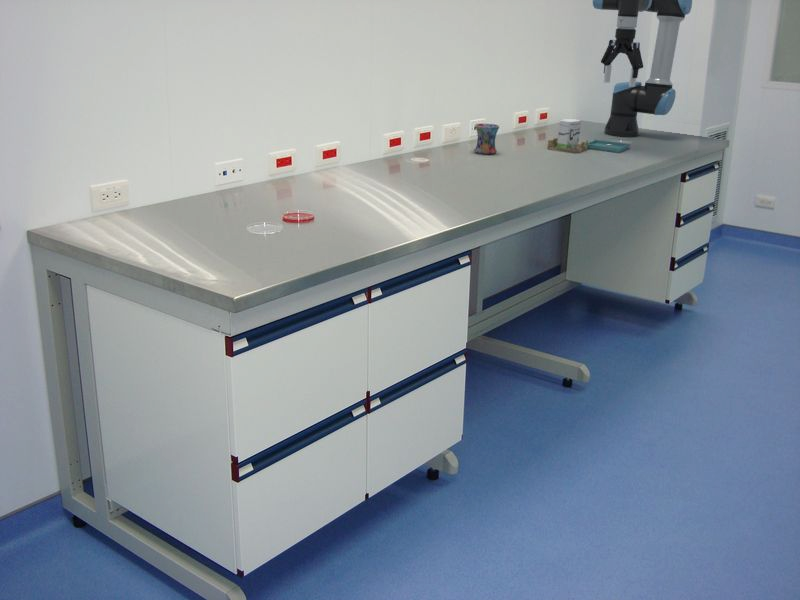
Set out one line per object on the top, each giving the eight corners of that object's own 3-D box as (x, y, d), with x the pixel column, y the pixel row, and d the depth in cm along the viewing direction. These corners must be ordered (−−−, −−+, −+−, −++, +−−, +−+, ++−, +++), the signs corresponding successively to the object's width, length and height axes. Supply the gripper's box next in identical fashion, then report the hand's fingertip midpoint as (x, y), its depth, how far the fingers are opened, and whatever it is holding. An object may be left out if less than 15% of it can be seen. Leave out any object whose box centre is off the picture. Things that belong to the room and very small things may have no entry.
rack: (557, 145, 350) (558, 136, 349) (587, 149, 344) (588, 140, 343) (547, 149, 340) (547, 140, 338) (577, 153, 334) (578, 144, 333)
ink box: (566, 151, 337) (569, 121, 333) (556, 149, 341) (559, 119, 336) (578, 149, 343) (581, 120, 339) (568, 147, 346) (571, 118, 342)
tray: (594, 143, 357) (594, 139, 356) (629, 148, 350) (629, 144, 349) (583, 148, 346) (584, 143, 345) (619, 153, 339) (620, 148, 338)
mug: (490, 156, 320) (492, 128, 317) (468, 152, 325) (470, 125, 321) (504, 152, 330) (507, 124, 326) (484, 148, 335) (486, 121, 331)
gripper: (596, 25, 333) (589, 80, 341) (643, 30, 313) (636, 88, 321) (609, 25, 337) (603, 80, 344) (657, 30, 317) (649, 88, 325)
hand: (618, 84), depth 333 cm, fingers open, 13 cm apart
